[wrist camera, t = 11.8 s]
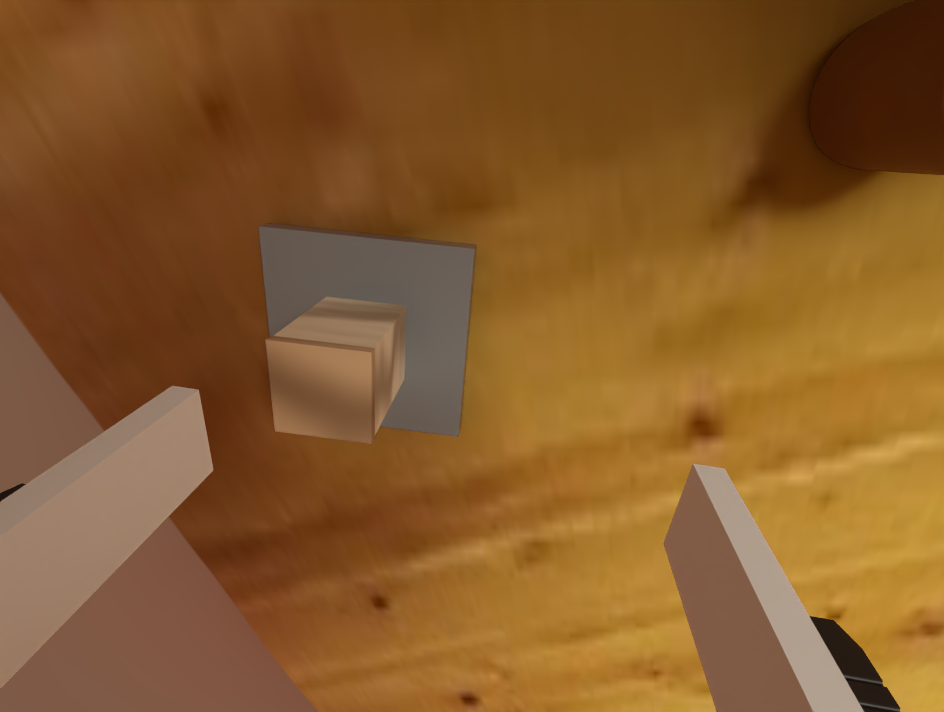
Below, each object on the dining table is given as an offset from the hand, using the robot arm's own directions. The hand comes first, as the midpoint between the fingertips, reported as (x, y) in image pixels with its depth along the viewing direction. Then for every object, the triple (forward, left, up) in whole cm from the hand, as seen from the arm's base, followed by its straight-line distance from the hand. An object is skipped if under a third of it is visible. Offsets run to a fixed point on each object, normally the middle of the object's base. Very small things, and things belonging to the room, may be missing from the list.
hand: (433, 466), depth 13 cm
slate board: (+5, -8, -21) cm, 22 cm away
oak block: (+5, -8, -19) cm, 21 cm away
